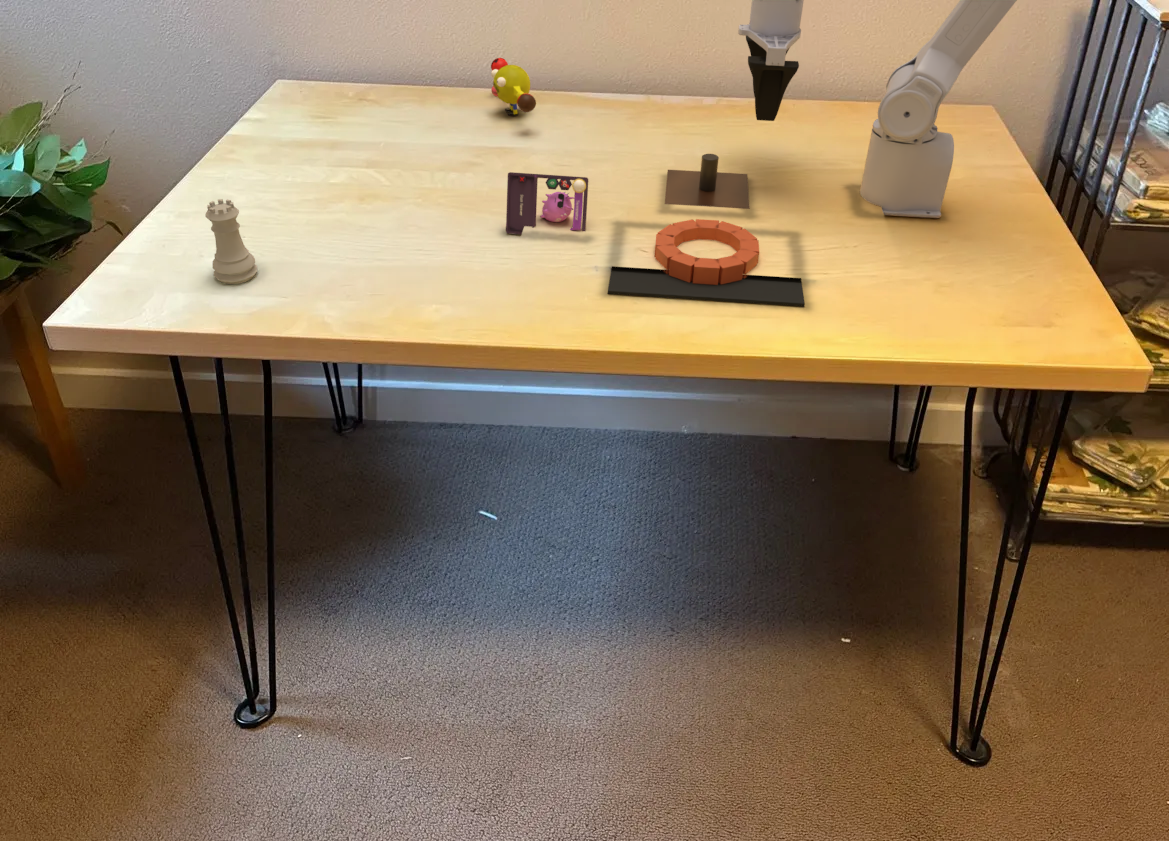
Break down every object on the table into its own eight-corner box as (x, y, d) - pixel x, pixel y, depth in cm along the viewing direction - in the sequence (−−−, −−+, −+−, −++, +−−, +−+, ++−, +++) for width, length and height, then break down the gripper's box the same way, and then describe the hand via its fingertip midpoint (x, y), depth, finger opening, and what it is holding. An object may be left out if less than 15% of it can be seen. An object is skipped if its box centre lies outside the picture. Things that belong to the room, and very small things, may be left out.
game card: (506, 172, 108) (587, 178, 107) (515, 169, 112) (592, 175, 112) (504, 234, 110) (583, 240, 109) (513, 228, 115) (589, 234, 114)
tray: (793, 234, 111) (794, 231, 111) (804, 306, 99) (804, 303, 98) (619, 224, 113) (619, 221, 113) (607, 294, 100) (607, 290, 100)
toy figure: (479, 94, 146) (476, 47, 142) (515, 90, 148) (513, 44, 143) (508, 138, 133) (506, 89, 129) (547, 134, 134) (546, 85, 130)
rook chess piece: (241, 260, 105) (226, 191, 100) (267, 273, 103) (252, 203, 98) (205, 276, 102) (187, 205, 97) (231, 290, 100) (213, 218, 95)
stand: (746, 181, 123) (751, 142, 120) (748, 216, 115) (753, 176, 112) (667, 176, 123) (669, 138, 120) (663, 211, 116) (666, 171, 113)
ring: (755, 238, 110) (757, 222, 108) (758, 287, 101) (760, 270, 100) (657, 232, 110) (658, 216, 109) (652, 281, 102) (653, 264, 100)
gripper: (741, -30, 115) (729, 85, 123) (744, 3, 103) (731, 128, 111) (802, -28, 114) (786, 88, 122) (812, 6, 103) (793, 131, 111)
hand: (763, 107), depth 117 cm, fingers open, 7 cm apart
